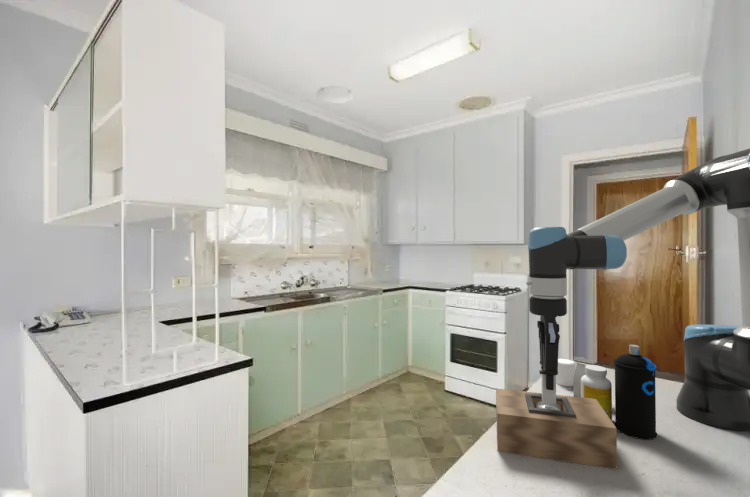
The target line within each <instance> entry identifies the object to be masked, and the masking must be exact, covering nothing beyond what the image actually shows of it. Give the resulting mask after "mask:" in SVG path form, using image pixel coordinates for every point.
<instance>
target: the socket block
mask: <svg viewBox="0 0 750 497" xmlns="http://www.w3.org/2000/svg"><path fill="white" fill-rule="evenodd" d="M540 401H542V392H534V391H533V392H532V391H524V390H523V391H522V390H516V389H515V390H513V389H505V388H504V389H503V388H495V410H496V412H495V413H496V414H495V415H496V416H495V418H496V422H497V423H496V424H495V425H496V444H497V451H498V452H504V453H509V454H517V455H523V456H529V457H536V458H541V459H548V460H555V461H560V462H561V461H562V462H567V463H568V462H569V463H574V464H580V465H586V466H593V467H594V466H595V467H599V468H607V469H614V470H618V459H617V458H618V454H617V453H618V452H617V450H618V448H617V445H618V444H617V442H618V441H617V440H618V439H617V438H618V437H617V436H618V435H617V433H618V432H617V431H618V430H617V429H616V427H615V425H614V423H613V420H612V421H611V420H610V418H609V417H608V415H607V414H606V413H605V411H604V410H603V408H602V407H601V405H600V404H599V403H598V401H597V400H596V399H592V398H582V397H573V396H571V395H562V394H556V404H558V405H559V406H560V407H561V411H558V410H550V409H541V408H536V403H537V402H540Z"/></svg>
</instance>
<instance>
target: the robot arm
mask: <svg viewBox="0 0 750 497" xmlns="http://www.w3.org/2000/svg"><path fill="white" fill-rule="evenodd" d="M719 206H726V211H727V213H729V214H730V215H733V217H735V218H736V222H737V224H736V225H737V243H738V246H737V247H738V262H739V263H738V264H739V284H740V285H739V286H740V306H741V325H740V326H739V325H738V326H737V325H723V324H690V325H687V326H686V327H685V329H684V338H683V342H684V343H683V345H684V346H683V347H684V349H683V350H684V355H683V356H684V381H683V384H682V386H681V387H680V390H679V392H678V394H677V396H676V402H675V403H676V409H677V411H678V412H680V414H682V415H684V416H685V417H688V418H689V419H692V420H693V421H697V422H700V423H702V424H706V425H710V426H713V427H716V428H721V429H727V430H733V431H743V432H745V431H750V392H749V391H750V148H747V149H743V150H740V151H736V152H734V153H731V154H730V153H729V154H726V155H722V156H718V157H715V158H713V159H710V160H708V161H706V162H704V163H702V164H700V165H698V166H696V167H694V168H692V169H689V171H687V172H684V173H683V174H681V175H679V176H677V177H675V178H673V179H672V180H669V181H667V182H666V183H665V184H664V186H663V188H662V189H660V190H657V191H655V192H653V193H651V194H649V195H647V196H644V197H642V198H641V199H638V200H636V201H634V202H632V203H630V204H628V205H625V206H623V207H622V208H619V209H617V210H615V211H614V212H613V211H612V212H611V213H609V214H607V215H604V216H603V217H601V218H598V219H596V220H594V221H592V222H591V223H588V224H585V225H584V226H582V227H580V228H577V229H576V230H574V231H571V232H569V233H567V229H566V228H565V227H564V226H542V227H541V226H539V227H534V228H531V229H530V231H529V235H528V246H527V250H528V267H529V268H528V270H529V271H528V272H529V273H528V275H529V276H528V277H529V278H528V279H529V280H527V281H526V282H525V283H526V284H525V285H527V286H529V288H528V290H529V294H530V295H531V296H530V297H529V298H528V300H529V301H528V302H529V303H528V304H529V312H530V313H531V314H533V315H535V316H539V318H540V319H539V320H537V322H536V324H537V329H538V341H539V365H540V369H541V370H539V371H538V372H539V374H540V375H541V393H542V402H543V403H550V404H556V395H557V384H556V375H558V358H559V344H560V338H561V336H560V333H559V332H560V324H559V323H558V322H557V320H556V319H557V318H558V317H564V316H566V315H567V314H568V305H567V304H568V300H567V299H566V296H567V295H568V290H567V288H568V279H567V276H568V275H567V270H603V271H607V270H614V269H619V268H621V267H622V266H623V265H624V264H625V262H626V260H627V256H628V250H627V245H626V243H625V242H626V240H629V239H631V238H633V237H635V236H637V235H639V234H641V233H644V232H645V231H648V230H651V229H652V228H654V227H656V226H659V225H660V224H661V225H662V224H663V223H666V222H668V221H669V220H672V219H674V218H676V217H677V216H679V215H684V216H685V215H692V214H694V213H696V212H698V211H701V210H704V209H709V208H712V207H713V208H714V207H719Z"/></svg>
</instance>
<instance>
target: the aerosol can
mask: <svg viewBox="0 0 750 497" xmlns="http://www.w3.org/2000/svg"><path fill="white" fill-rule="evenodd" d="M628 349H629V350H628V353H625V354H621V355H619V356H618V357H616V358H615V359H613V363H614V398H615V399H614V403H615V404H614V405H615V406H614V410H615V412H614V415H615V416H614V417H615V418H614V420H615V422H614V423H613V424H614V425H615V427H616V429H617V431H618V432H620V433H622V434H623V435H626V436H627V437H631V438H634V439H637V440H639V439H640V440H646V441H647V440H655V439H656V438H657V437H658V433H657V425H656V423H657V419H656V418H657V416H656V414H657V413H656V411H657V410H656V409H657V408H656V404H657V403H656V398H657V397H656V370H657V368H658V367H657V365H656V364H654V362H652V361H651V359H649V358H647V357H646V356H643V355H641V354H640V346H639V345H637V344H629V347H628Z"/></svg>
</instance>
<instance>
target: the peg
mask: <svg viewBox="0 0 750 497" xmlns="http://www.w3.org/2000/svg"><path fill="white" fill-rule="evenodd" d="M536 408H541V409H550V410H558V411H561V407H560V406H559V405H558V404H550V403H543V402H542V401H540V402H537V403H536Z"/></svg>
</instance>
